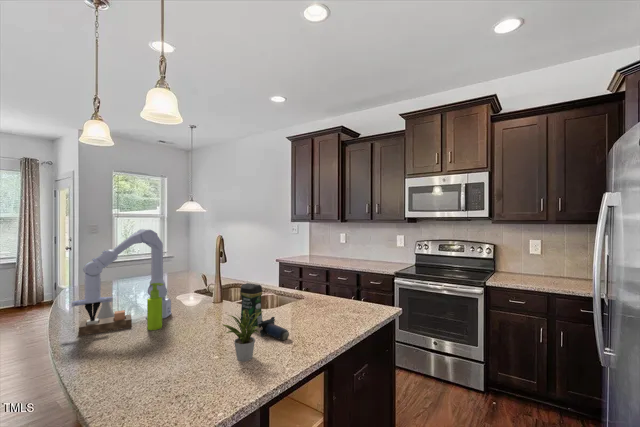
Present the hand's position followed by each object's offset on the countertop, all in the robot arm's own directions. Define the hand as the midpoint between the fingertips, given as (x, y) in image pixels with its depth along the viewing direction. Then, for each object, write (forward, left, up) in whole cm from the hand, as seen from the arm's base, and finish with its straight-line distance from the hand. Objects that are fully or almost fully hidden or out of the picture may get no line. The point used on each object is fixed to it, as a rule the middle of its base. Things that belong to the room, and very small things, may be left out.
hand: (92, 320), depth 139 cm
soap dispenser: (-26, -2, -5) cm, 27 cm away
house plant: (-72, +30, -5) cm, 79 cm away
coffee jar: (-68, -4, -5) cm, 69 cm away
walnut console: (-4, -3, -4) cm, 7 cm away
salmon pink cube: (-9, -5, -2) cm, 10 cm away
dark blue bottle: (-81, +13, -5) cm, 82 cm away
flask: (+6, -19, -5) cm, 20 cm away
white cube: (0, 0, -4) cm, 4 cm away
